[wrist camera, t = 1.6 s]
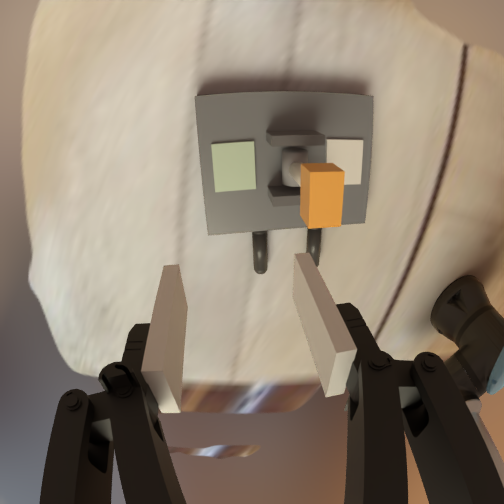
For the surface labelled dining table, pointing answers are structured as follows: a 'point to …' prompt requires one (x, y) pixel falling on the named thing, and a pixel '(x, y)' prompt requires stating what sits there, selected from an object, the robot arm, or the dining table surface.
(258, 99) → the breaker box
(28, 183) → the dining table surface
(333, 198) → the breaker lever
